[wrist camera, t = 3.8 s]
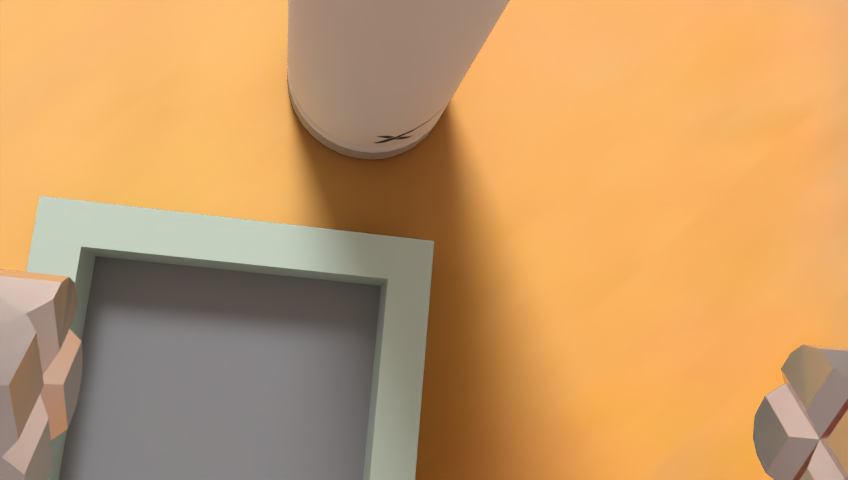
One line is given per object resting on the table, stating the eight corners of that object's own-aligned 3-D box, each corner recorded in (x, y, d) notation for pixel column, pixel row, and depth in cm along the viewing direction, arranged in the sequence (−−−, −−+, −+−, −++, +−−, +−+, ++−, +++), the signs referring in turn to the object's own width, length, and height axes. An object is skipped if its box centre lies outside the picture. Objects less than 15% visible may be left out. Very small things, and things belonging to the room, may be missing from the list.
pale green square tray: (389, 614, 28) (401, 642, 25) (-2, 600, 26) (-39, 628, 23) (419, 254, 30) (434, 240, 27) (65, 215, 28) (39, 195, 25)
